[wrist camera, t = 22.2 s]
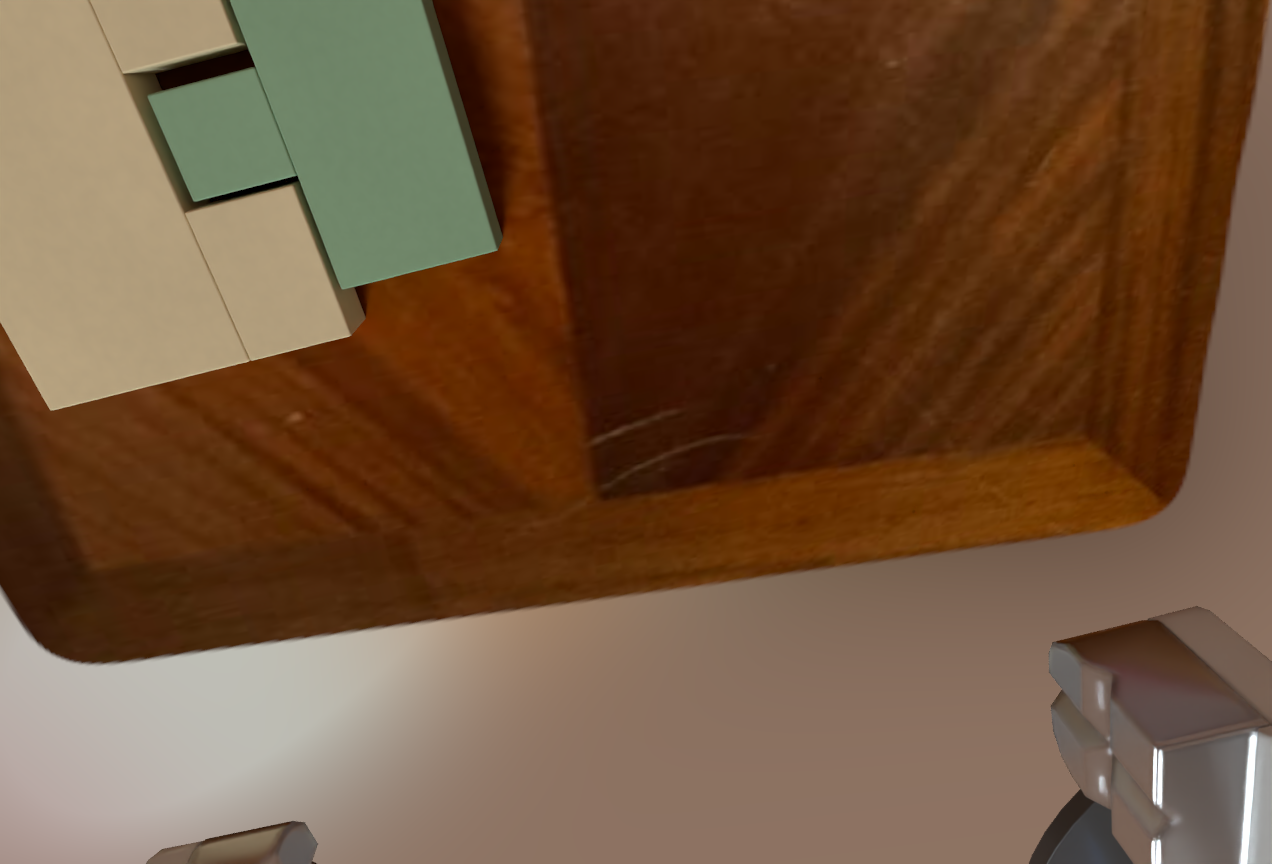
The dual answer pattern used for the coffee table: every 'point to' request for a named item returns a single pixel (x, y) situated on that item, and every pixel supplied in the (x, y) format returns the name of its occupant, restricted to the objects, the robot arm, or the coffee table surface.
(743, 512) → the coffee table surface
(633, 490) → the coffee table surface
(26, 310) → the beige pad
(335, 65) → the green pad
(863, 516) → the coffee table surface
